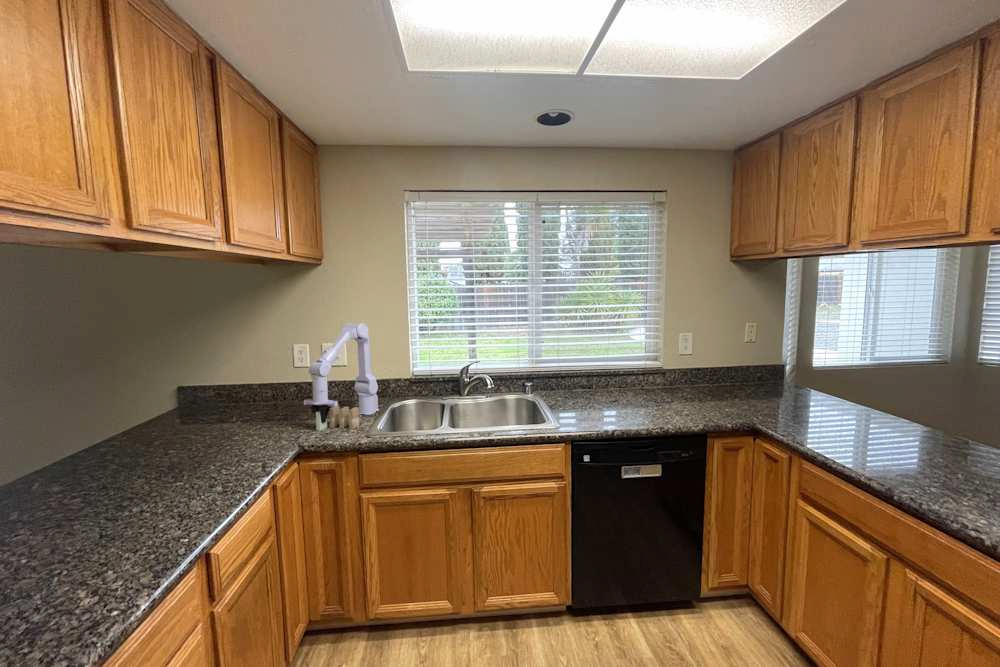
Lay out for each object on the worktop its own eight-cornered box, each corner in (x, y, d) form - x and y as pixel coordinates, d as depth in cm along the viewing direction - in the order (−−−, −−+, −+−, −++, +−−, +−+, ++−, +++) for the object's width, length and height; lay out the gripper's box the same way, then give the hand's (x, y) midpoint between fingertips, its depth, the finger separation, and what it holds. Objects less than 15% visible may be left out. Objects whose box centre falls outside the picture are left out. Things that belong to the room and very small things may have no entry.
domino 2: (330, 427, 177) (329, 409, 176) (336, 423, 182) (336, 405, 181) (333, 427, 177) (332, 409, 176) (340, 423, 182) (339, 406, 181)
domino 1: (316, 430, 173) (315, 412, 172) (323, 427, 178) (323, 408, 177) (319, 431, 173) (319, 412, 172) (327, 427, 178) (326, 409, 177)
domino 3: (339, 428, 176) (339, 409, 176) (346, 424, 181) (345, 406, 180) (343, 428, 176) (342, 409, 175) (349, 424, 181) (348, 406, 180)
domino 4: (349, 428, 176) (348, 410, 175) (355, 425, 180) (355, 407, 180) (352, 429, 175) (352, 410, 174) (359, 425, 180) (358, 407, 179)
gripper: (298, 391, 171) (299, 423, 172) (330, 393, 168) (331, 426, 170) (309, 387, 178) (310, 418, 179) (340, 389, 175) (341, 421, 176)
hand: (321, 422), depth 175 cm, fingers closed on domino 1, 2 cm apart
